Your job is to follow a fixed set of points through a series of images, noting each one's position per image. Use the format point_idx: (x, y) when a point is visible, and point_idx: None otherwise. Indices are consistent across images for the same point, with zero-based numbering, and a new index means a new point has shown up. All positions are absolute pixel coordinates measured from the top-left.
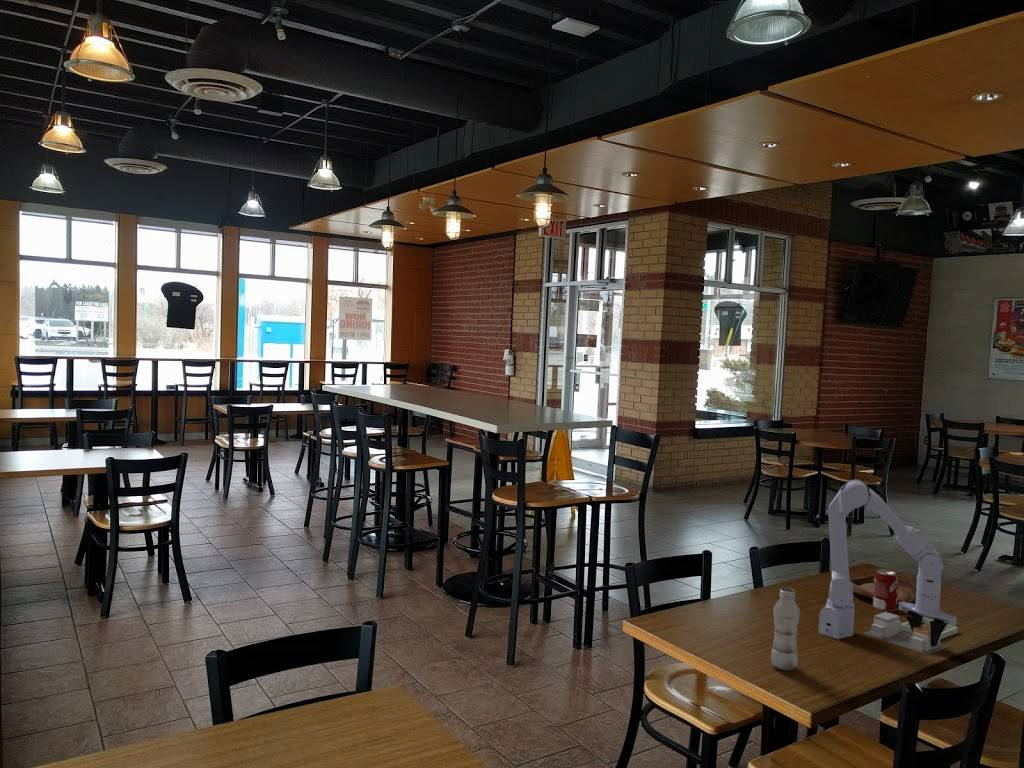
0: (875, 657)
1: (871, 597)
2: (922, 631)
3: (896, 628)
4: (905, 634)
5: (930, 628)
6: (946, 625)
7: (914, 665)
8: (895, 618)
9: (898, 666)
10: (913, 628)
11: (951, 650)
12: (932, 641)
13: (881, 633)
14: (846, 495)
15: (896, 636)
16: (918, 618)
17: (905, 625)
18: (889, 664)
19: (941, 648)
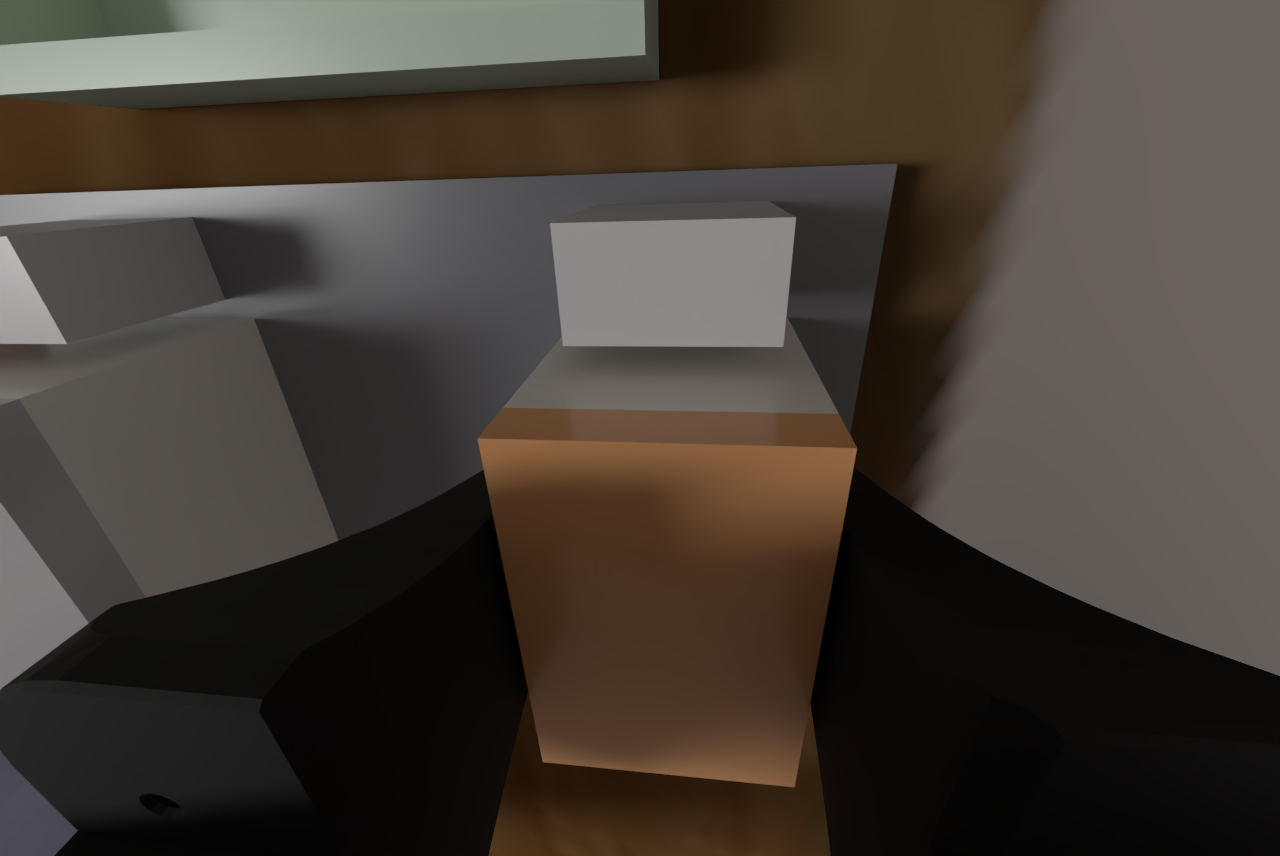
0: (577, 821)
1: None
2: (700, 769)
3: (208, 396)
4: (301, 262)
5: (720, 594)
6: (1212, 667)
7: (799, 785)
8: (55, 529)
9: (738, 844)
10: (551, 755)
11: (929, 147)
12: None
13: None
14: None
15: (336, 434)
16: (433, 786)
17: (62, 74)
18: (688, 849)
19: (846, 346)
